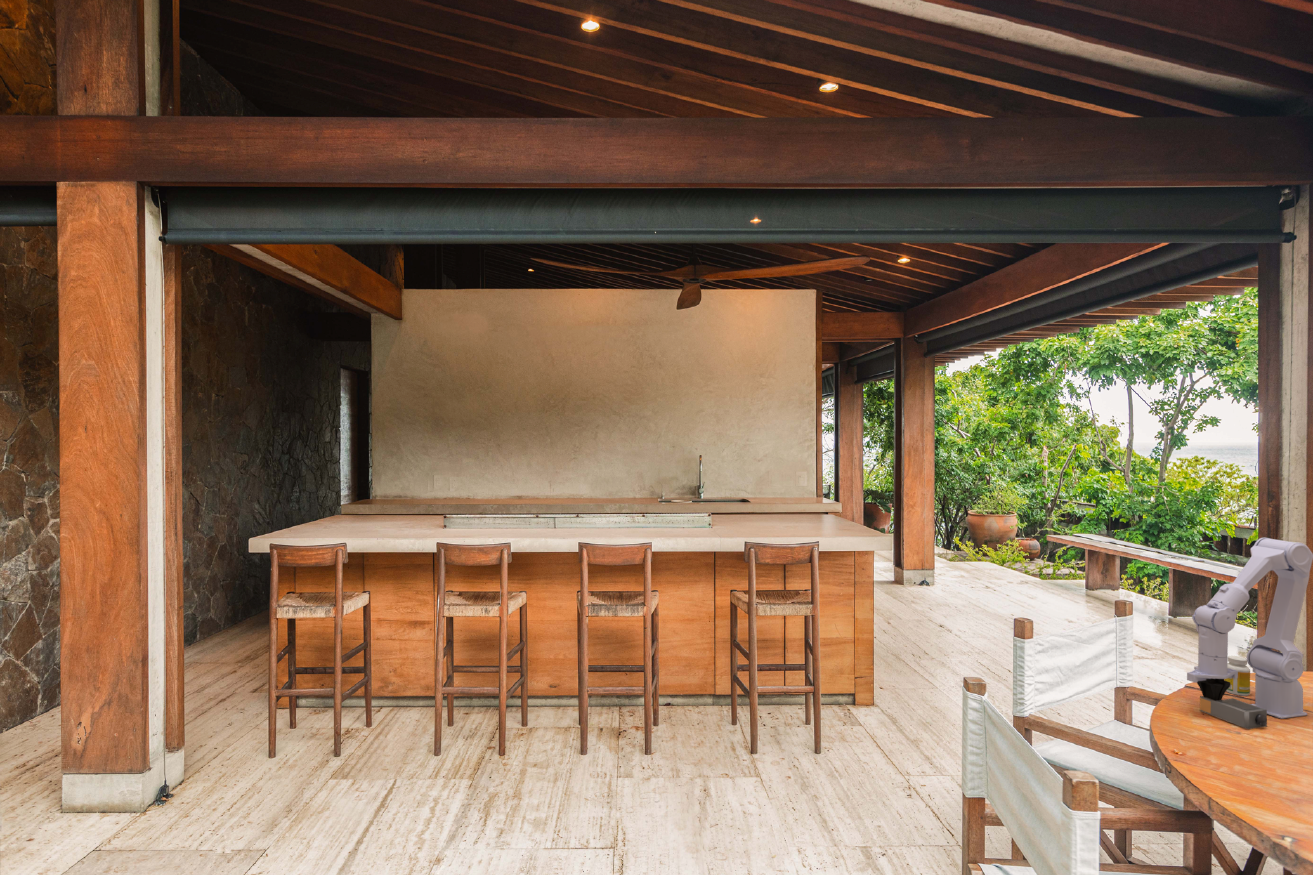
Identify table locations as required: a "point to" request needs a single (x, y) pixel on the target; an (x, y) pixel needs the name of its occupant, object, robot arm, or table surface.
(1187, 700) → the table surface
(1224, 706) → the side door
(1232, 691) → the supplement bottle
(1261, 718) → the camera body
